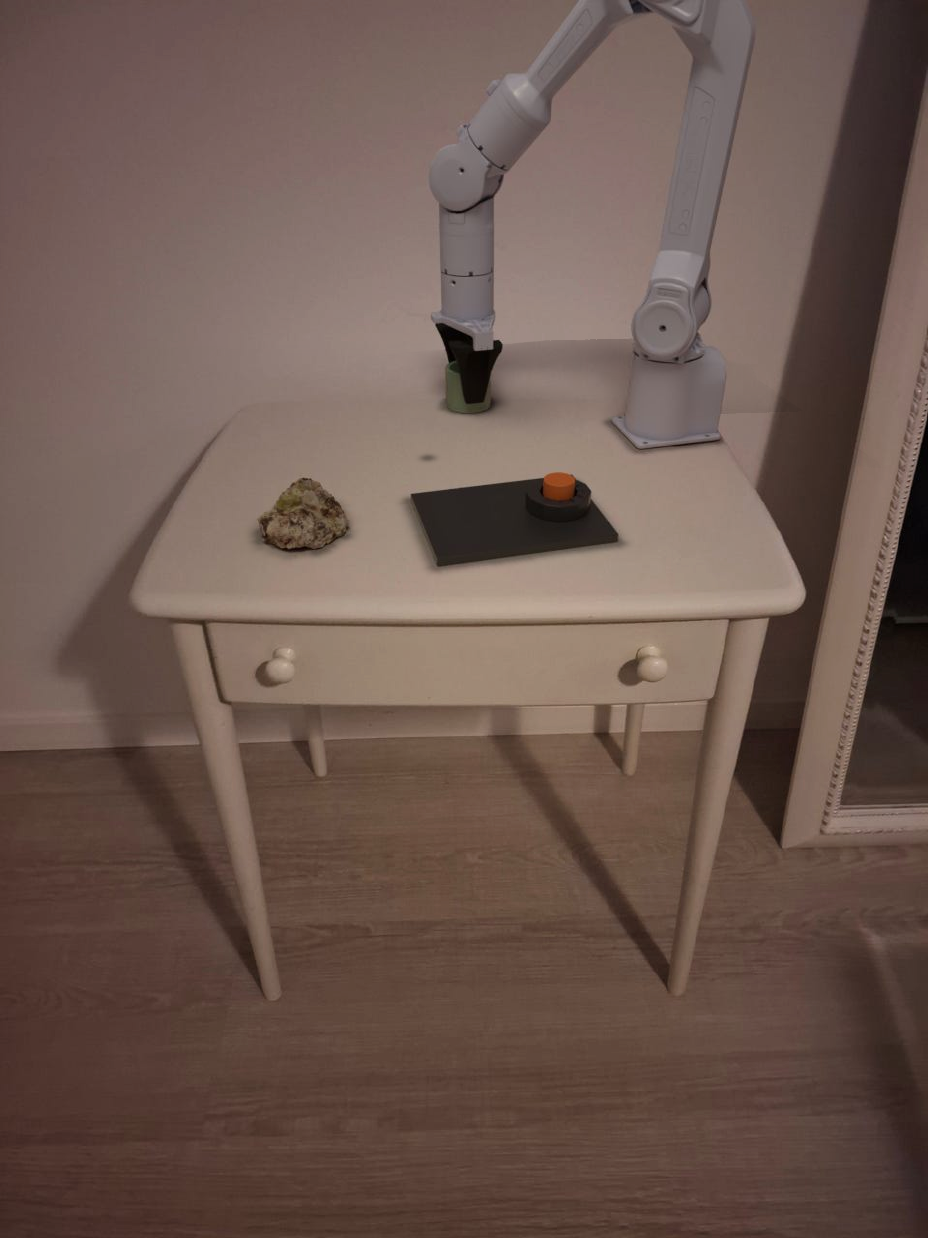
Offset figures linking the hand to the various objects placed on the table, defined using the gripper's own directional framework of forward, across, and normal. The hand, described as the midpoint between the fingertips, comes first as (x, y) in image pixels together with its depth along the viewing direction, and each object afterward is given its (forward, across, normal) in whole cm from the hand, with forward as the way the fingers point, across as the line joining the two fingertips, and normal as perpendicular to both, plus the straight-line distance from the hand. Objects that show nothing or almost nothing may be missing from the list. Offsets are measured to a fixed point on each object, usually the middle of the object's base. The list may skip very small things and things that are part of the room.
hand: (468, 392), depth 100 cm
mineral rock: (+2, +24, -21) cm, 32 cm away
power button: (-1, +28, +1) cm, 28 cm away
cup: (+1, 0, 0) cm, 1 cm away
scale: (+1, +28, -3) cm, 28 cm away
